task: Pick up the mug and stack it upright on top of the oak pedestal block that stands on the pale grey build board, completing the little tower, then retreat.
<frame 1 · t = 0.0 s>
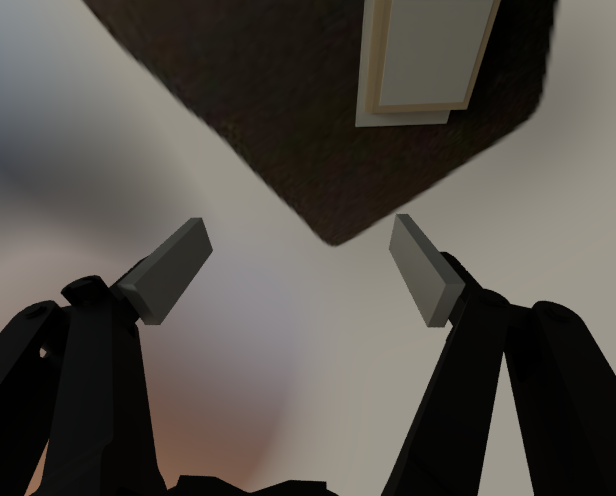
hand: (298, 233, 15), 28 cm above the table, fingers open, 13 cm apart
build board: (409, 60, 31), on the table
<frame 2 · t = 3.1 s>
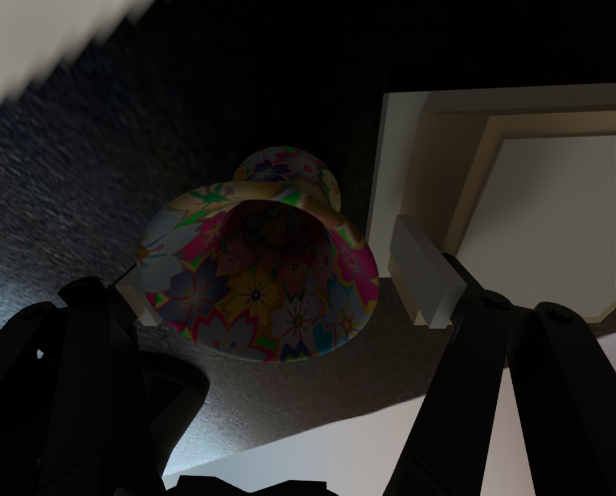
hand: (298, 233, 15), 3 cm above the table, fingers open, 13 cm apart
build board: (472, 198, 17), on the table
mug: (296, 213, 18), on the table
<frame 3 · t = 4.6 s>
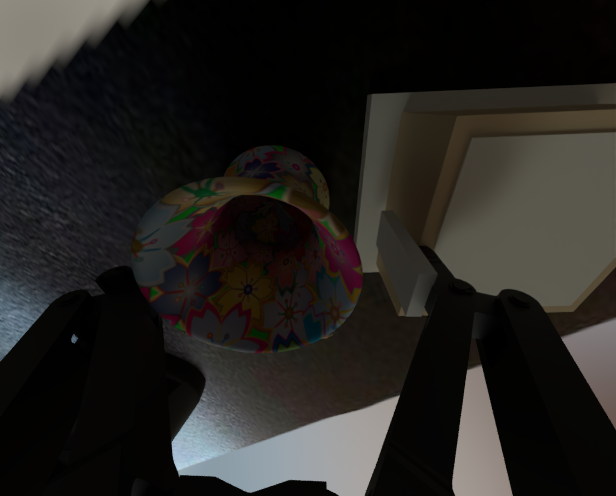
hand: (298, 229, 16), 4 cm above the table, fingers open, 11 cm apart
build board: (455, 194, 18), on the table
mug: (286, 211, 19), on the table, touching gripper
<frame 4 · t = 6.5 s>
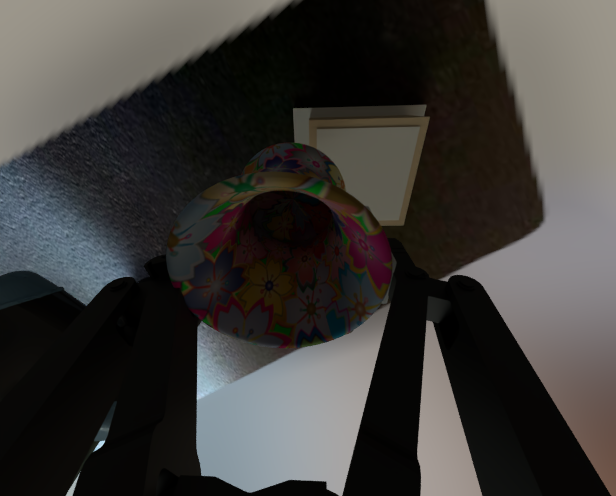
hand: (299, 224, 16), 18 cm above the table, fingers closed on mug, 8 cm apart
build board: (352, 165, 31), on the table
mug: (302, 208, 19), point 15 cm above the table, touching gripper
when the fingers open (9 cm above the table, at t = 8.9 s): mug stays where it is, resting on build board.
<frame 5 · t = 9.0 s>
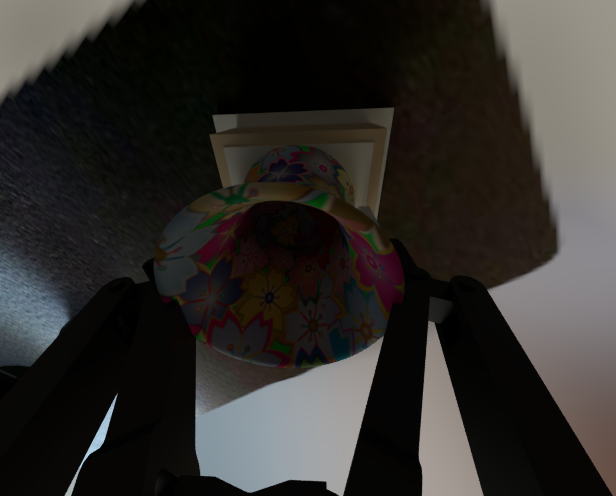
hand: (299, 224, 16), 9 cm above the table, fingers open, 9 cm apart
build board: (305, 186, 24), on the table
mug: (308, 213, 18), point 7 cm above the table, touching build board
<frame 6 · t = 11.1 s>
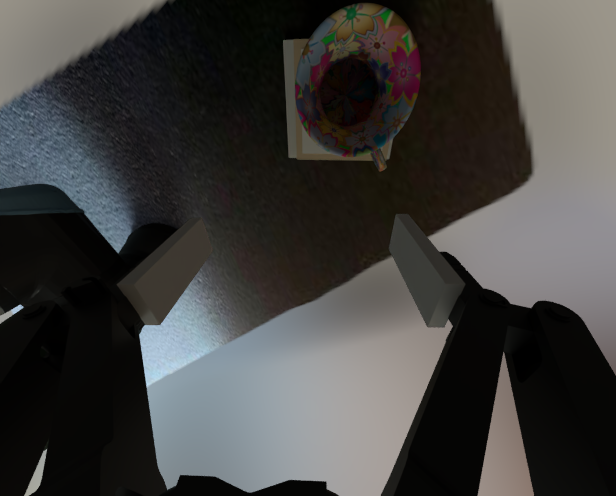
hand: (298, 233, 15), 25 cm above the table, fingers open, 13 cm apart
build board: (341, 106, 32), on the table
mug: (350, 107, 26), point 7 cm above the table, touching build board
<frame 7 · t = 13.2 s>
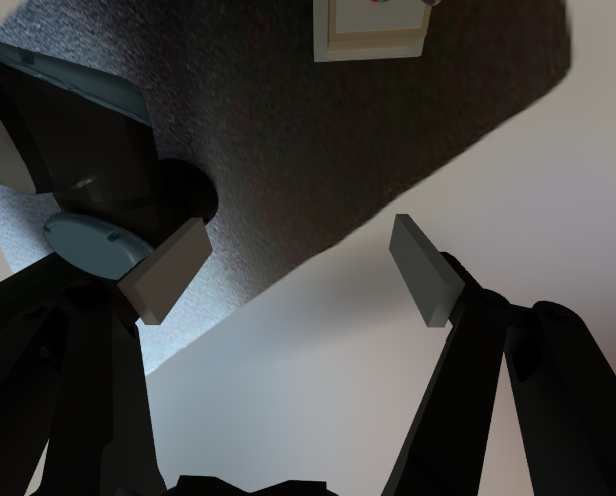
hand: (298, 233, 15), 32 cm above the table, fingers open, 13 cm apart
flower pot: (109, 277, 62), on the table
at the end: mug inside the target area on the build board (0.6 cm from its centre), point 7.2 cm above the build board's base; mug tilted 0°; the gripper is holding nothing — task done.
